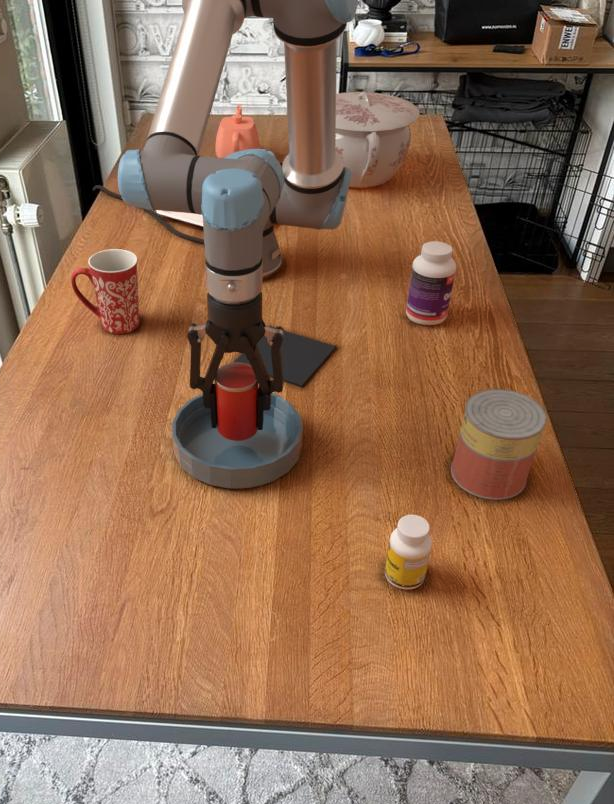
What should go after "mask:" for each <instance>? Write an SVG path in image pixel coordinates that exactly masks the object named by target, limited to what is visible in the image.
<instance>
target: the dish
mask: <svg viewBox="0 0 614 804" xmlns="http://www.w3.org/2000/svg"><path fill="white" fill-rule="evenodd" d="M171 434H172V435H171V436H172V437H171V438H172V447H173V456H174V457H175V459H176V461H177V463H178V465H179V466H180V468H181V469H183V471H185V472H186V473H187V474H188V475H190V476H191V477H192V478H193V479H195V480H197V481H200V482H202V483H205V484H207V485H210V486H213V487H218V488H223V489H230V490H231V489H232V490H233V489H234V490H241V489H242V490H243V489H250V488H256V487H261V486H264V485H266V484H270V483H272V482H275V481H276V480H278V479H279V478H281V477H283V476H284V475H287V473H289V472H290V471H291V469H292V468H293V467H294V466H295V465H296V464H297V463H298V461H299V459H300V455H301V452H302V450H303V449H302V448H303V437H304V435H303V434H304V427H303V421H302V417H301V414H300V413H299V412H298V411H297V409H296V408H295V406H294V405H293V404H292V403H291V402H289V401H288V400H287V399H285V398H283V397H282V396H280V395H279V394H277V393H275V392H273V393H272V394H271V407H270V410H269V411H268V410H264V420H263V430H258V431H257V433H256V434H255V435H254V436H253V437H251V438H249V439H246V440H242V441H233V440H229V439H226V438H224V437H223V436H221V435H220V434H219V432H218V429H217V428H212V425H211V408H205V407H204V405H203V392H202V393H200V394H197V395H196V396H194V397H192V398H190V399H189V400H187V401H186V402H185V403H184V404H183V405H182V406H181V407H180V408H179V409H178V410H177V412H176V414H175V415H174V417H173V420H172V422H171Z"/></svg>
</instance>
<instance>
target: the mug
mask: <svg viewBox="0 0 614 804" xmlns="http://www.w3.org/2000/svg"><path fill="white" fill-rule="evenodd" d="M138 259H139V258H138V256H137V254H135V253H134V252H132V251H130V250H127V249H121V248H109V249H104V250H100V251H97V252H95V253H93V254H92V255H91V256H90V257H89V258H88V261H87V263H88V266H89V268H88V267H78V268H76V269H74V270H73V272H72V273H71V276H70V277H71V278H70V281H71V288H72V290H73V292H74V294H75V295H76V298H77V299H79V301H80V302H81V303H82V304H83V305H84V306H85V307H86V308H87V309H88V310H90V312H92V313H93V314H94V315H95V316H96V317H98V318H99V319H100V323H101V327H102V329H103V330H104V331H105V332H108V333H110V334H114V335H123V334H128V333H131V332H134V331H135V330H136V329H138V327H139V326H140V303H139V302H140V301H139V278H138V262H139V260H138ZM80 275H84V276H86V277H87V278H88V279H89V281H90V283H91V285H93V288H94V293H95V298H96V303H97V305H95V304H93V303H92V302H91V301H89V299H88V298H87V297H86V296H85V295H84V294H83V293H82V292H81V291H80V289H79V287H78V285H77V282H76V280H77V277H78V276H80Z"/></svg>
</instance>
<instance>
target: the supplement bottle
mask: <svg viewBox="0 0 614 804" xmlns="http://www.w3.org/2000/svg"><path fill="white" fill-rule="evenodd" d="M430 529H431V527H430V523H429V522H428V520H427V519H426V518H424V517H423V516H420V515H417V514H406V515H404V516H402V517H401V518H399V520H398V522H397V527H396V528H395V529H394V530H393V531H392V532H391V534H390V537H389V540H388V547H387V554H386V561H385V565H384V566H385V567H384V575H385V578H386V580H387V581H388V583H389V584H391V585H392V586H393V587H394V588H397V589H400V590H413V589H417V588H418V587H420V586H422V584H423V583H424V581H425V579H426V575H427V570H428V566H429V562H430V557H431V553H432V546H433V540H432V537H431V534H430V531H431V530H430ZM390 579H391V580H390ZM396 583H397V584H396ZM402 585H404V586H402Z"/></svg>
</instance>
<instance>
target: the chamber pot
mask: <svg viewBox="0 0 614 804" xmlns="http://www.w3.org/2000/svg"><path fill="white" fill-rule="evenodd" d="M420 116H421V113H420V109H419V108H418V107H417V106H416V105H415V104H414V103H412V102H410V101H408V100H407V99H404V98H401V97H399V96H394V95H391V94H386V93H379V92H372V91H351V92H350V91H349V92H340V93H339V92H338V93H336V145H335V150H336V151H337V152H338V153H339V154H340V156H341V157H342V160H343V167H346V168H348V169H350V170H351V171H352V175H351V180H350V185H349V188H353V189H366V188H373V187H377V186H381V185H383V184H385V183H388V182H389V181H391V179H392V178H393V177H394V175H395V174H396V173H397V171H398V170H399V169H400V167H401V166H402V165H403V163H404V162H405V160H406V158H407V155H408V153H409V149H410V147H411V140H412V132H411V127H410V125H412V124H414V123H416V122H417V120H418V119H419V118H420Z"/></svg>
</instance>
